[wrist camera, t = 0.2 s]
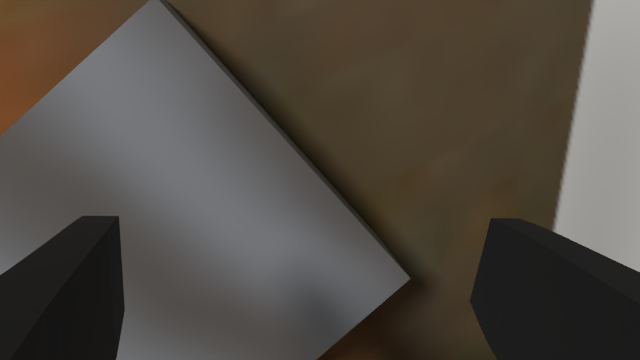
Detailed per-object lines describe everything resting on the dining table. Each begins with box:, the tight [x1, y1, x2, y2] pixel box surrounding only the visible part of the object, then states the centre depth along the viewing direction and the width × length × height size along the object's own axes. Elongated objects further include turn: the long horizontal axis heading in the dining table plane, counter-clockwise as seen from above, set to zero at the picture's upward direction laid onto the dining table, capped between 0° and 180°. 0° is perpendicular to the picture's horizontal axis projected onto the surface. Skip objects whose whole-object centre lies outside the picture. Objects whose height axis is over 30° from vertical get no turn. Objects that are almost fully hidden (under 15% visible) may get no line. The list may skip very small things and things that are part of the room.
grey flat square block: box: [0, 0, 411, 360], centre depth 19 cm, size 12×12×4 cm
